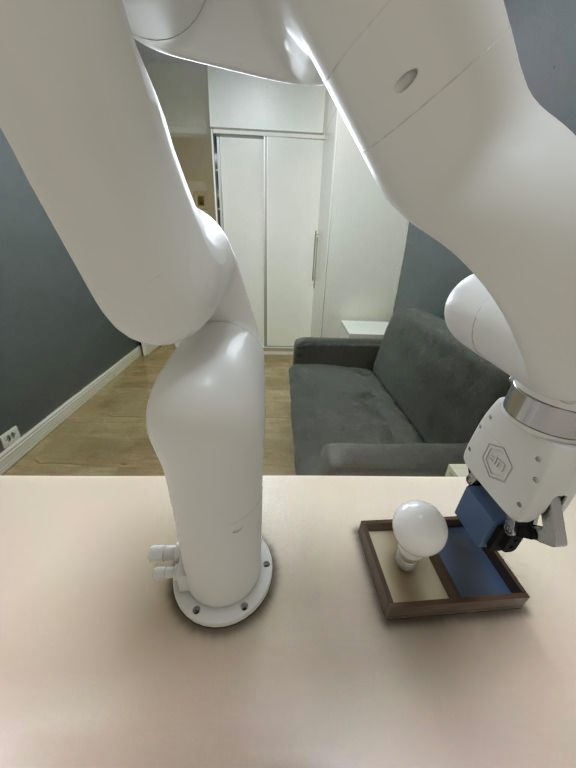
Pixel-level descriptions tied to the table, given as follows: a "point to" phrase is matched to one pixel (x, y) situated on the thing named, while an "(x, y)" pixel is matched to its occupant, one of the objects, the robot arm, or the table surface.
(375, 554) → the sorting tray
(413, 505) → the lightbulb
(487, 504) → the block
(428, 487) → the table surface
